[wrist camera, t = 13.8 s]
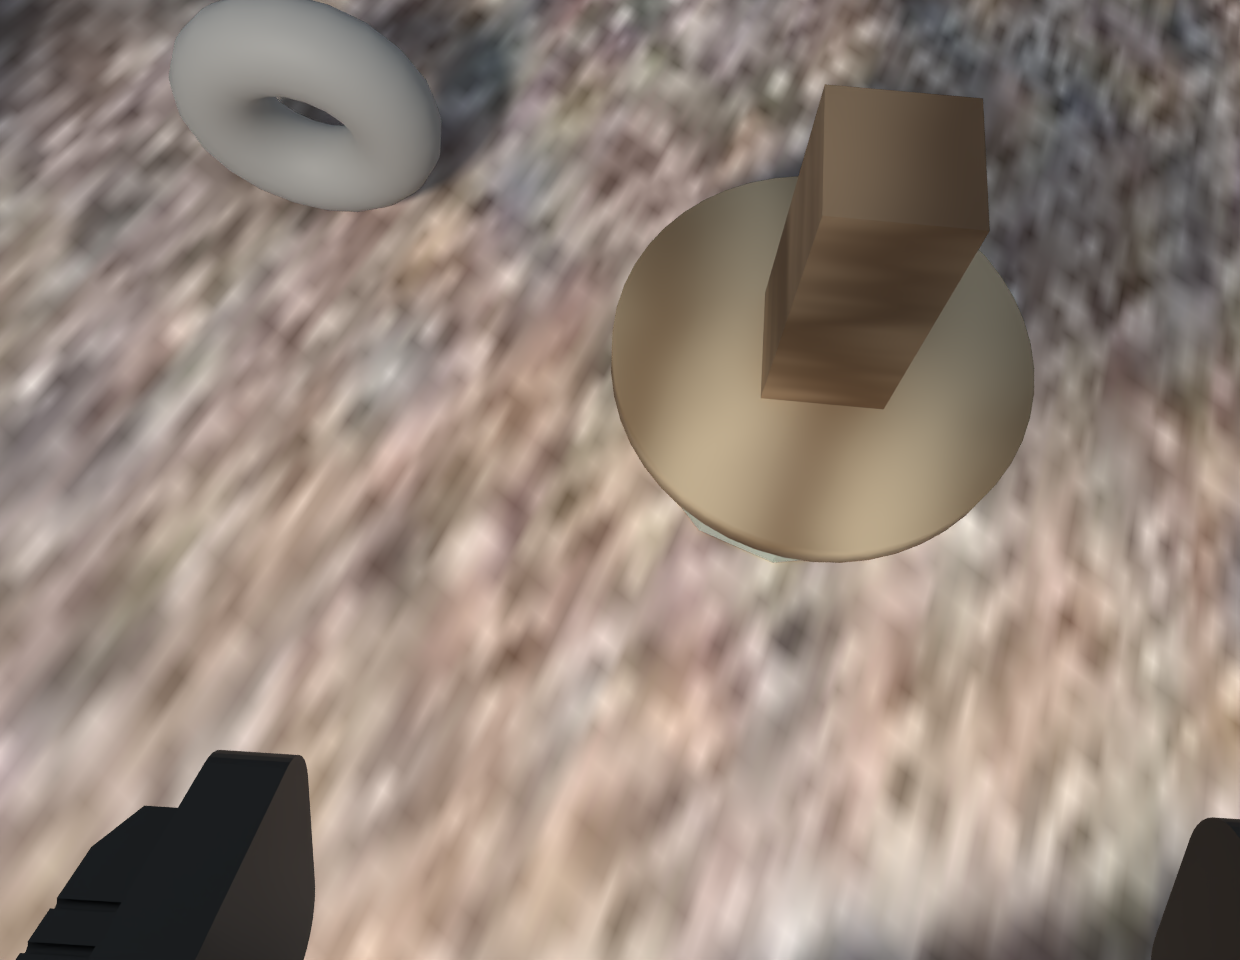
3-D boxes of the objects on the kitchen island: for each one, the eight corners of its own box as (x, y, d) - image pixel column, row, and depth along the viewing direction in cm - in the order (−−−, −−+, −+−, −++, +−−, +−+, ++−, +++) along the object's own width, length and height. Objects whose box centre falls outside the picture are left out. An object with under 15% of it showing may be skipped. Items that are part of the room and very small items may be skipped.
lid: (591, 541, 34) (593, 382, 24) (629, 181, 39) (643, -77, 29) (1032, 582, 34) (1225, 440, 23) (1010, 215, 39) (1160, -32, 29)
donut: (209, 211, 44) (108, 25, 35) (233, 145, 45) (142, -52, 36) (447, 246, 44) (409, 68, 34) (464, 178, 45) (432, -12, 36)
